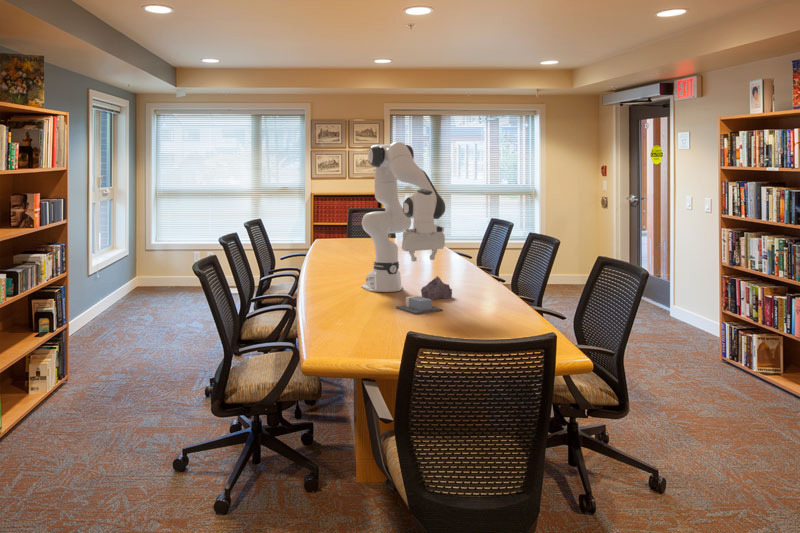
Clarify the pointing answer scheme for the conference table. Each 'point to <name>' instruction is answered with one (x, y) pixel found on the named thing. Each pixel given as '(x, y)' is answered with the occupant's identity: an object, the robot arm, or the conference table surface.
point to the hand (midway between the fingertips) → (423, 260)
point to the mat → (414, 311)
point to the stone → (436, 290)
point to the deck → (418, 303)
